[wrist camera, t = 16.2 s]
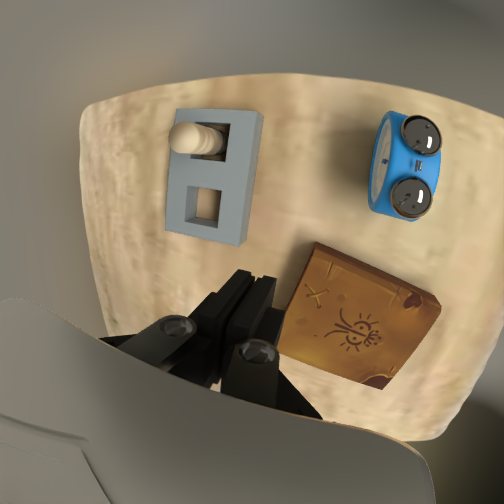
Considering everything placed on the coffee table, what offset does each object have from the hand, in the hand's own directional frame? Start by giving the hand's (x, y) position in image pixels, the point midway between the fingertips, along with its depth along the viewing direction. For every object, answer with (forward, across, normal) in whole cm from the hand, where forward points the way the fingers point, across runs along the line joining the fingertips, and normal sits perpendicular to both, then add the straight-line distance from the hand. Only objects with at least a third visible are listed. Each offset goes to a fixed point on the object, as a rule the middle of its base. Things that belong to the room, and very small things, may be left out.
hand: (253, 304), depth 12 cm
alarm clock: (+31, -11, -9) cm, 34 cm away
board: (+31, +15, -3) cm, 35 cm away
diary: (+32, -12, +16) cm, 38 cm away
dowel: (+31, +15, -8) cm, 35 cm away
